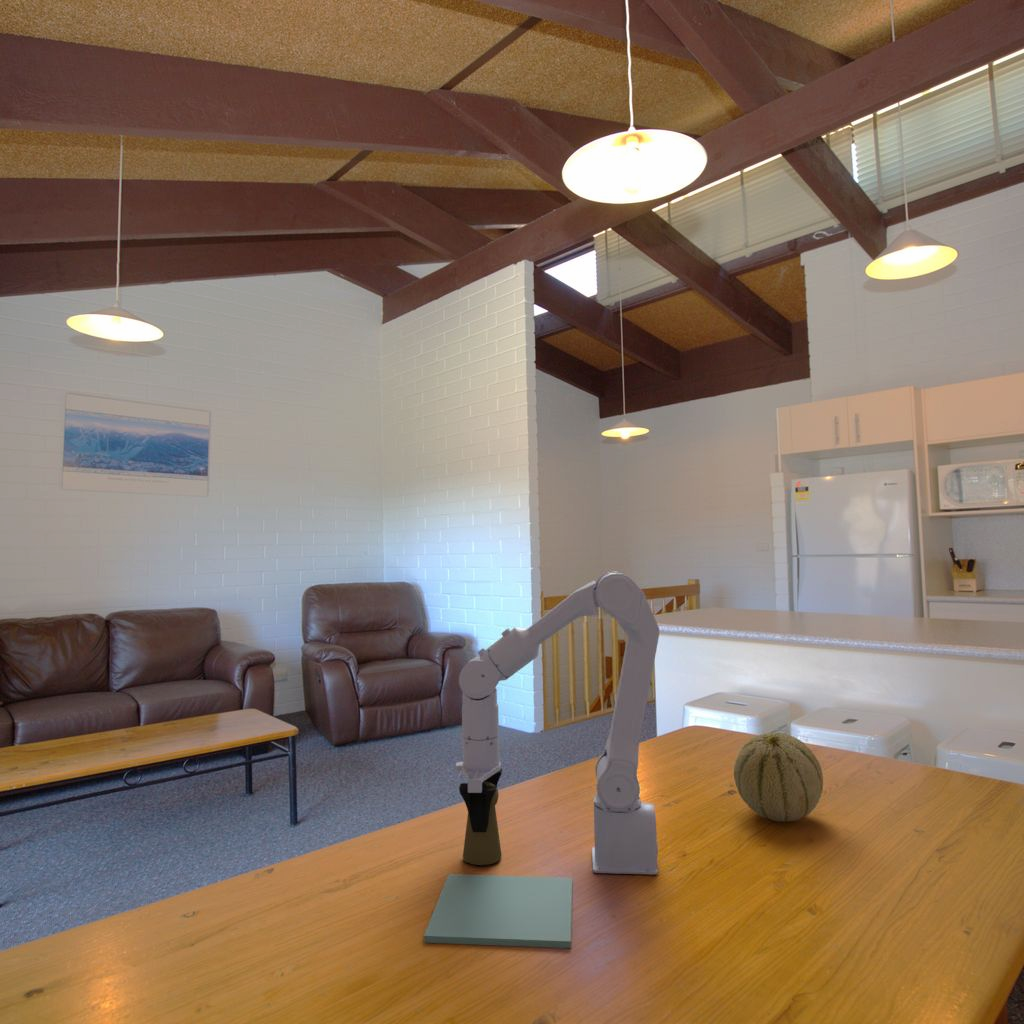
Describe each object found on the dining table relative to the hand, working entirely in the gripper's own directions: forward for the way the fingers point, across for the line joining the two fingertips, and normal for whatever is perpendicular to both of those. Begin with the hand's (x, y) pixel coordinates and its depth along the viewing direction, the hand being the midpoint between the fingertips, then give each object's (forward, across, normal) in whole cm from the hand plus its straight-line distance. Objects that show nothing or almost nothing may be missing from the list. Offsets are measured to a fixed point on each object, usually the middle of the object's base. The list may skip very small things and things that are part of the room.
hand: (482, 824), depth 107 cm
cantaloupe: (+6, -19, +50) cm, 54 cm away
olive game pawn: (+5, 0, 0) cm, 5 cm away
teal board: (+5, +15, +5) cm, 17 cm away
